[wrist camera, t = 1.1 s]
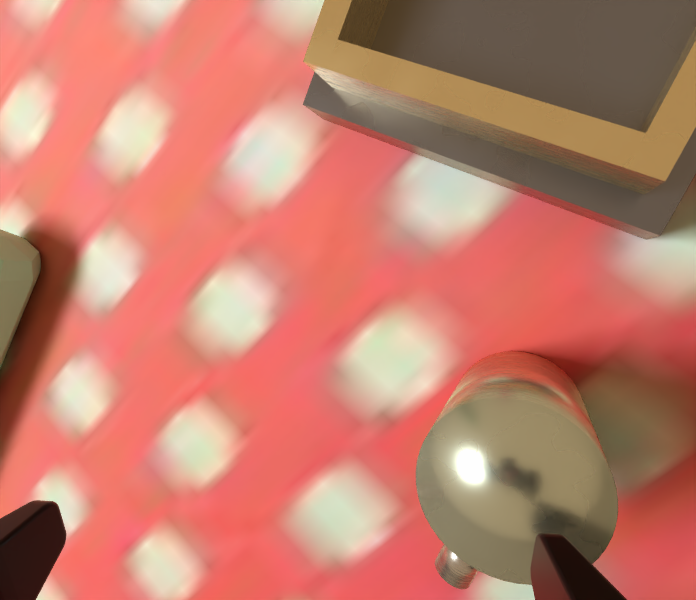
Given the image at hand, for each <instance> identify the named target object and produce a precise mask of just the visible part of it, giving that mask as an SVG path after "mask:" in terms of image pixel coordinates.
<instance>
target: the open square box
mask: <svg viewBox="0 0 696 600" xmlns="http://www.w3.org/2000/svg"><path fill="white" fill-rule="evenodd" d="M303 62H304V63H306V64H307V65H308V66H309V67H310V68H311V69H312V70H313V71H314V75H313V78H312V81H311V84H310V86H309V89H308V92H307V95H306V97H305V100H304V103H303V105H304V106H306V107H307V108H309V109H310V110H311V111H313V112H314V113H316V114H317V115H318V116H320V117H321V118H323V119H325V120H327V121H330V122H333V123H335V124H338V125H341V126H343V127H346V128H349V129H351V130H354V131H357V132H359V133H362V134H365V135H367V136H370V137H373V138H375V139H378V140H381V141H383V142H386V143H389V144H392V145H394V146H397V147H400V148H402V149H405V150H408V151H410V152H413V153H416V154H418V155H421V156H424V157H426V158H429V159H432V160H434V161H437V162H440V163H442V164H445V165H448V166H450V167H453V168H456V169H459V170H461V171H464V172H467V173H469V174H472V175H475V176H477V177H480V178H483V179H485V180H488V181H491V182H493V183H496V184H499V185H501V186H504V187H507V188H509V189H512V190H515V191H517V192H520V193H523V194H525V195H528V196H531V197H534V198H536V199H539V200H542V201H544V202H547V203H550V204H552V205H555V206H558V207H560V208H563V209H566V210H568V211H571V212H574V213H576V214H579V215H582V216H584V217H587V218H590V219H592V220H595V221H598V222H601V223H603V224H606V225H609V226H611V227H614V228H617V229H619V230H622V231H625V232H627V233H630V234H633V235H635V236H638V237H641V238H643V239H649V238H653V237H657V236H660V235H661V234H662V232H663V230H664V228H665V227H666V225H667V223H668V221H669V220H670V218H671V216H672V214H673V213H674V211H675V209H676V207H677V206H678V204H679V202H680V200H681V199H682V197H683V195H684V193H685V192H686V190H687V188H688V186H689V185H690V183H691V181H692V179H693V178H694V176H695V174H696V0H325V1H324V4H323V6H322V9H321V12H320V15H319V18H318V21H317V23H316V26H315V29H314V32H313V35H312V38H311V41H310V43H309V46H308V49H307V52H306V55H305V58H304V60H303Z"/></svg>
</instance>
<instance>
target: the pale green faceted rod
mask: <svg viewBox="0 0 696 600" xmlns="http://www.w3.org/2000/svg"><path fill="white" fill-rule="evenodd" d="M40 271H41V259H40V253H39V251H38V250H37V249H35V248H34V247H33V246H32V245H31V244H30V243H29V242H28V241H27V240H26V239H24V238H22V237H19V236H16V235H14V234H11V233H8V232H6V231H3V230H0V368H1V366H2V363H3V361H4V358H5V356H6V353H7V351H8V349H9V346H10V344H11V341H12V339H13V336H14V334H15V332H16V329H17V327H18V324H19V322H20V319H21V317H22V315H23V312H24V310H25V307H26V305H27V302H28V300H29V298H30V295H31V293H32V290H33V288H34V285H35V283H36V281H37V278H38V276H39V273H40Z"/></svg>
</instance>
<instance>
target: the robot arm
mask: <svg viewBox="0 0 696 600" xmlns="http://www.w3.org/2000/svg"><path fill="white" fill-rule="evenodd" d="M65 541H66V530H65V527H64V523H63V520H62V516H61V513H60V509H59V506H58V505H57V504H56V503H55V502H53V501H40V500H36V501H32V502H29V503H28V504H26V505H24V506H22V507H20V508H19V509H17V510H15V511H13V512H11V513H10V514H8V515H6V516H4V517H2V518H1V519H0V600H36V598H37V596H38V594H39V593H40V591H41V589H42V587H43V585H44V583H45V581H46V579H47V577H48V576H49V574H50V572H51V570H52V568H53V566H54V564H55V562H56V560H57V559H58V557H59V555H60V553H61V551H62V549H63V547H64V544H65ZM530 573H531V581H532V586H533V591H534V596H535V600H627V599H626V598H625V597H624V596H623V595H622V594H621V593H620V592H619V591H618V590H617V589H616V588H615V587H614V586H613V585H612V584H611V583H610V582H609V581H608V580H607V579H606V578H605V577H604V576H603V575H602V574H601V573H600V572H599V571H598V570H597V569H596V568H595V567H594V566H593V565H592V564H591V563H590V562H589V561H588V560H587V559H586V558H585V557H584V556H583V555H582V554H581V553H580V552H579V551H578V550H577V549H576V548H575V547H574V546H573V545H572V544H571V543H570V542H569V540H568V539H567V538H565V537H564V536H563V535H561V534H555V533H539V534H537V536H536V539H535V544H534V550H533V555H532V561H531V568H530Z"/></svg>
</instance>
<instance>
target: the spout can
mask: <svg viewBox="0 0 696 600" xmlns="http://www.w3.org/2000/svg"><path fill="white" fill-rule="evenodd" d="M416 486H417V492H418V497H419V501H420V504H421V507H422V510H423V512H424V514H425V517H426V519H427V520H428V522H429V524H430V526H431V528H432V529H433V530H434V532H435V533H436V535H437V536H438V538H439V539H440V540H441V541H442V542H443V543H444V545H443V547H442V549H441V550H440V552H439V554H438V556H437V558H436V560H435V566H436V569H437V571H438V573H439V574H440V576H441V577H442V578H443V579H444V580H445V581H446V582H447V583H449V584H450V585H452V586H454V587H456V588H459V589H467V588H468V587H469V586H470V584H471V583H472V581H473V579H474V577H475V576H476V574H477V572H478V571H480V572H482V573H485V574H487V575H489V576H491V577H494V578H497V579H500V580H503V581H508V582H513V583H518V584H529V585H532V581H531V573H530V568H531V561H532V555H533V550H534V544H535V539H536V536H537V534H539V533H555V534H561V535H563V536H564V537H565V538H567V539H568V540H569V542H570V543H571V544H572V545H573V546H574V547H575V548H576V549H577V550H578V551H579V552H580V553H581V554H582V555H583V556H584V557H585V558H586V559H587V560H588V561H589V562H590V563H591V564H593V563H594V562H595V561H596V560H597V559H598V558H599V557H600V556H601V554H602V553H603V552H604V550H605V549H606V547H607V546H608V544H609V542H610V540H611V538H612V536H613V533H614V530H615V527H616V522H617V515H618V498H617V491H616V486H615V482H614V479H613V476H612V473H611V470H610V468H609V465H608V463H607V460H606V458H605V455H604V453H603V450H602V447H601V445H600V442H599V440H598V437H597V435H596V432H595V430H594V427H593V425H592V422H591V420H590V417H589V415H588V412H587V410H586V407H585V405H584V402H583V400H582V397H581V395H580V393H579V391H578V388H577V387H576V385H575V384H574V382H573V381H572V380H571V378H570V377H569V376H568V375H567V374H566V373H565V372H564V371H563V370H562V369H561V368H560V367H558V366H557V365H556V364H554V363H553V362H551V361H549V360H547V359H545V358H543V357H541V356H538V355H535V354H531V353H527V352H521V351H507V352H500V353H495V354H492V355H490V356H487V357H485V358H483V359H481V360H479V361H478V362H477V363H475V364H474V365H473V366H472V367H470V368H469V369H468V370H467V372H466V373H465V374H464V375H463V377H462V379H461V380H460V382H459V384H458V385H457V387H456V389H455V390H454V392H453V394H452V395H451V397H450V399H449V400H448V402H447V404H446V405H445V407H444V408H443V410H442V412H441V413H440V415H439V417H438V418H437V420H436V422H435V423H434V425H433V427H432V428H431V430H430V432H429V433H428V435H427V437H426V438H425V440H424V442H423V444H422V447H421V449H420V452H419V456H418V460H417V467H416Z"/></svg>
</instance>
